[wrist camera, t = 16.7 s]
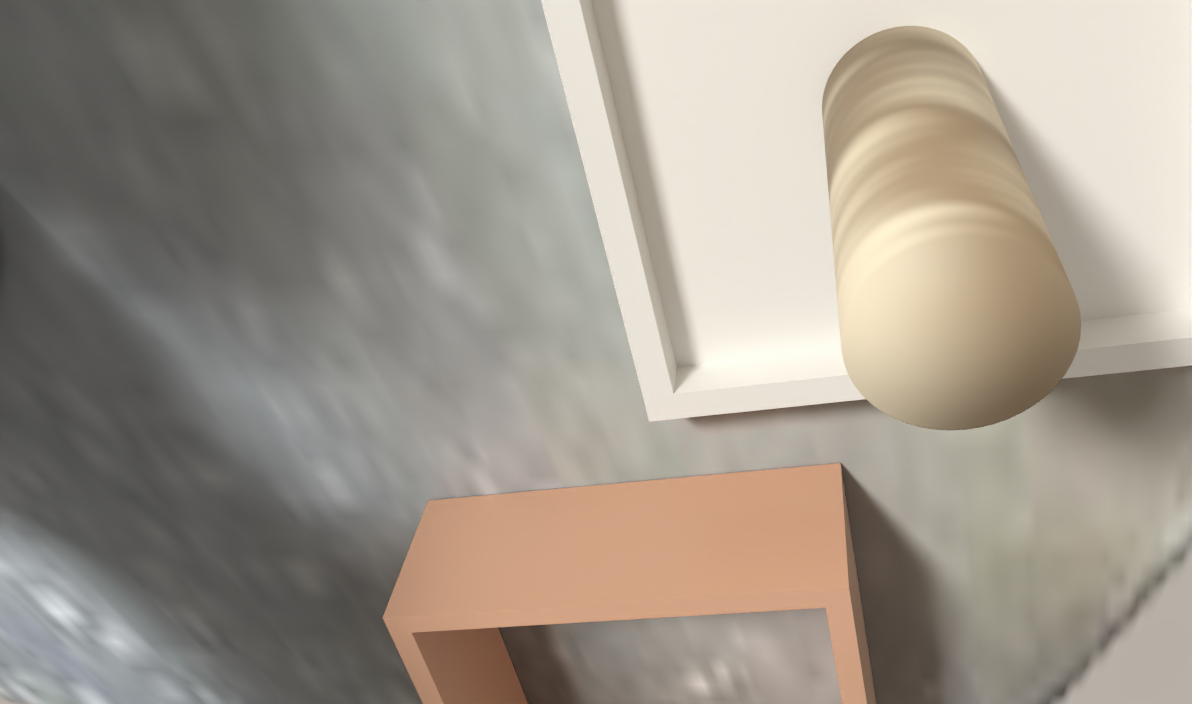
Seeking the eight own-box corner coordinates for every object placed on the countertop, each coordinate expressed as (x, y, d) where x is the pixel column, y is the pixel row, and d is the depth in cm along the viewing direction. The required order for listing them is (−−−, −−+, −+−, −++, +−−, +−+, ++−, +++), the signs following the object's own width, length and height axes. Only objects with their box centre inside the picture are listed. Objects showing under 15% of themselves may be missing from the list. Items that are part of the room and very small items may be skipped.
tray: (655, 384, 39) (649, 421, 37) (516, -174, 29) (500, -160, 27) (1231, 320, 34) (1254, 358, 33) (1285, -360, 25) (1322, -355, 23)
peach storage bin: (532, 757, 51) (505, 881, 46) (428, 500, 43) (382, 617, 38) (882, 747, 47) (894, 880, 43) (840, 463, 39) (848, 587, 34)
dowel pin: (831, 186, 33) (853, 440, 23) (812, 41, 31) (828, 255, 21) (988, 163, 32) (1081, 418, 22) (980, 11, 30) (1081, 221, 20)
